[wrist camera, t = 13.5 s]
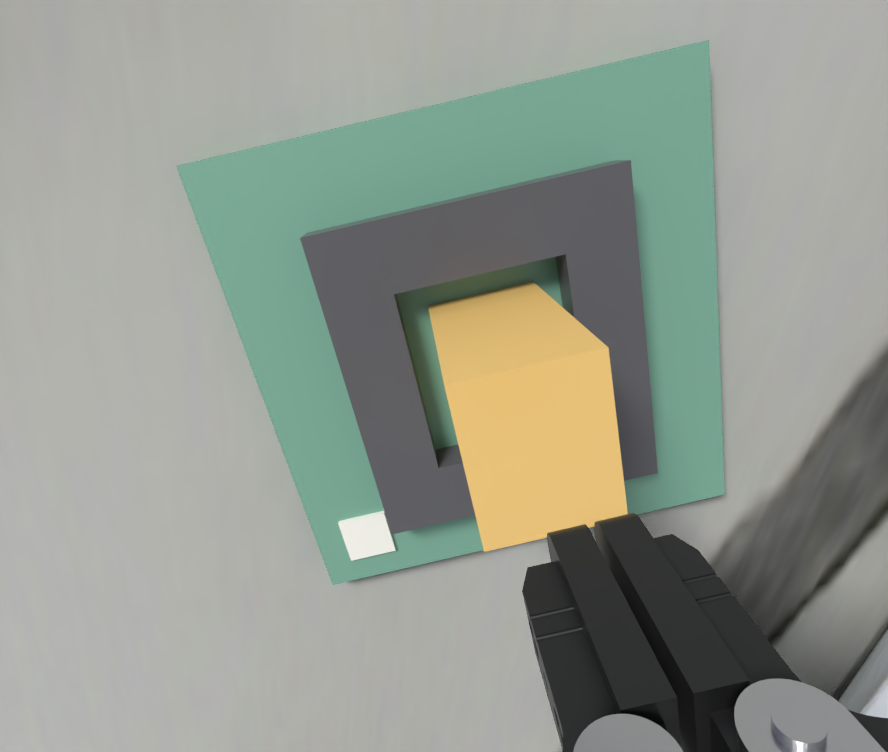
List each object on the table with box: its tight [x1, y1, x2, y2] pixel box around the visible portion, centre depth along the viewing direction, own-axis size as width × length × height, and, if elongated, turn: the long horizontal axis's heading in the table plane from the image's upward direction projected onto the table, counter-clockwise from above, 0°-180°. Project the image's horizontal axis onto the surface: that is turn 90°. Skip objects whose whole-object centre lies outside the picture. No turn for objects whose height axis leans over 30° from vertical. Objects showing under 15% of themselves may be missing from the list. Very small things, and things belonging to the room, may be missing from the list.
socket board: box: [176, 40, 725, 585], centre depth 21 cm, size 18×18×2 cm
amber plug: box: [428, 281, 628, 552], centre depth 18 cm, size 4×5×8 cm
